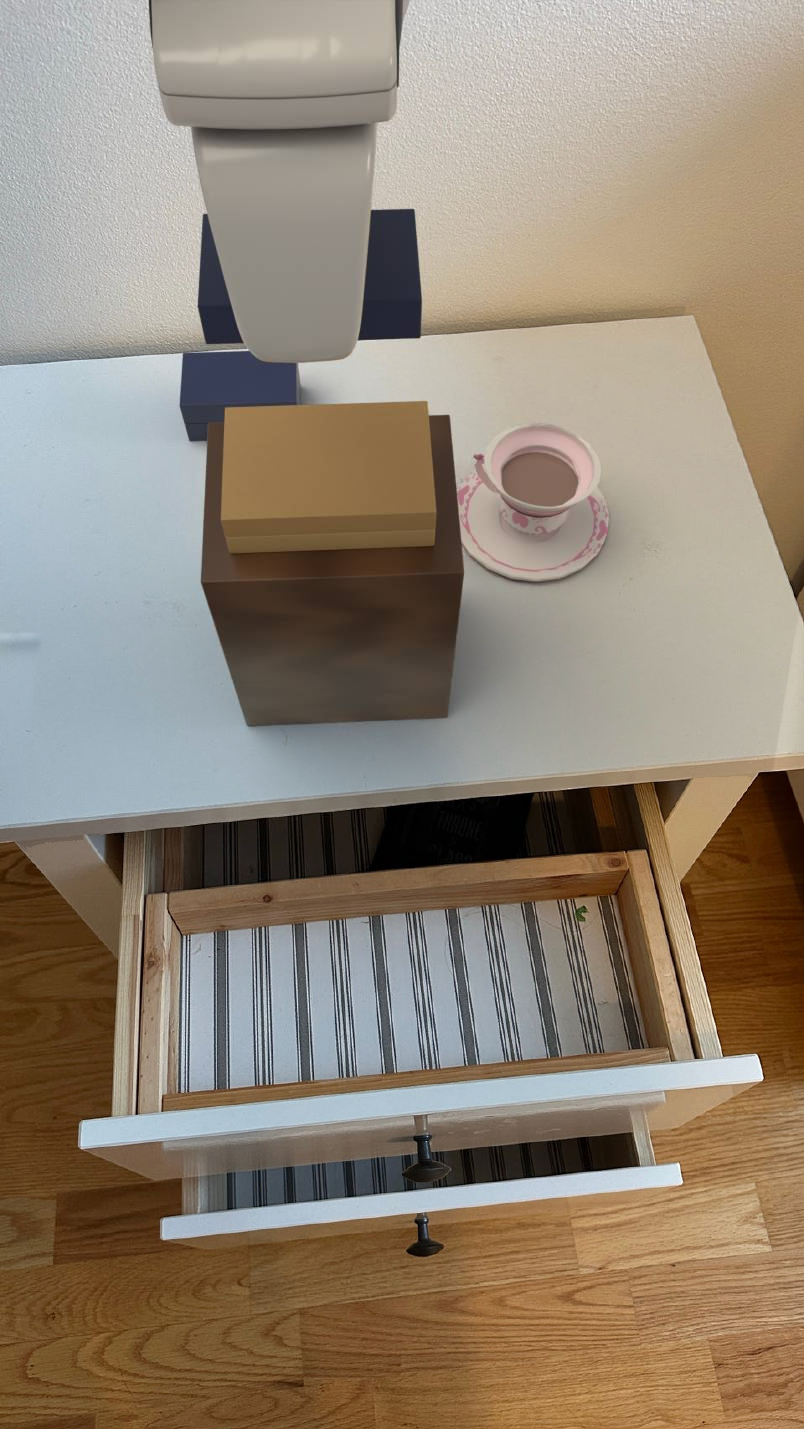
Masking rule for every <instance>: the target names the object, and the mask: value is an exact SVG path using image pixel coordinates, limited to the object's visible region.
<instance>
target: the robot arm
mask: <svg viewBox="0 0 804 1429" xmlns="http://www.w3.org/2000/svg"><path fill="white" fill-rule="evenodd" d="M410 1H411V0H148V17H149V33H150V40H151V47H152V56H153V64H154V71H155V76H156V77H155V78H156V82H157V85H158V86H157V88H158V92H159V97H160V101H161V105H162V109H163V112H164V115H165V117H166V120H167V121H168V122H169V123H170V124H171V125H173V126H177V127H186V128H187V127H189V128H190V131H191V139H192V147H193V151H194V158H195V164H196V169H197V174H198V180H199V184H200V185H199V186H200V188H201V193H202V197H203V203H204V206H205V211H206V214H207V215H208V219H209V223H210V227H211V230H212V234H213V238H214V242H215V246H216V249H217V253H218V257H219V261H220V264H221V268H222V272H223V276H224V280H225V283H226V287H227V290H228V294H229V298H230V301H231V305H232V308H233V312H234V316H235V319H236V323H237V326H238V329H239V332H240V335H241V337H242V340H243V342H244V343H243V344H244V346H245V347H246V349H247V351H250V352H251V353H252V354H253V355H254V356H255V357H256V358H257V359H259V360H261V361H265V362H278V363H298V364H307V363H319V362H320V363H323V362H334V361H335V362H336V361H342V360H345V359H347V358H348V357H350V356H351V355H352V353H353V352H354V350H355V348H356V346H357V343H358V341H359V340H358V336H359V331H360V326H361V319H362V310H363V299H364V288H365V277H366V266H367V254H368V242H369V230H370V218H371V210H372V205H373V204H372V203H373V191H374V177H375V167H376V166H375V165H376V152H377V137H378V123H385V122H386V123H387V122H389V121H391V120H393V119H394V117H395V115H396V112H397V106H398V104H397V101H398V100H397V99H398V98H397V97H398V93H397V92H398V88H400V49H401V48H400V47H401V40H402V34H403V33H402V31H403V23H404V20H405V18H406V13H407V11H408V8H409V5H410Z"/></svg>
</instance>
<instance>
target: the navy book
mask: <svg viewBox="0 0 804 1429" xmlns="http://www.w3.org/2000/svg"><path fill="white" fill-rule="evenodd" d="M416 220H417V219H416V210H415V209H414V208H392V209H391V208H390V209H389V208H388V209H387V208H385V209H371V218H370V230H369V242H368V254H367V266H366V277H365V288H364V299H363V310H362V319H361V326H360V331H359V336H358V340H357V341H375V340H377V341H378V340H379V341H381V340H382V341H383V340H410V339H411V340H412V339H413V340H414V339H421V337H422V315H423V314H422V313H423V296H422V283H421V282H422V281H421V272H420V257H419V244H418V233H417V222H416ZM200 237H201V238H200V241H201V242H200V254H199V274H198V289H197V290H198V291H197V292H198V293H197V311H198V315H199V319H200V320H199V321H200V325H201V330H202V333H203V338H204V342H205V344H206V345H232V344H233V345H237V344H238V345H239V344H244V342H243V340H242V337H241V335H240V332H239V329H238V326H237V323H236V319H235V316H234V312H233V308H232V305H231V301H230V298H229V294H228V290H227V287H226V283H225V280H224V276H223V272H222V268H221V264H220V261H219V257H218V253H217V249H216V246H215V242H214V238H213V234H212V230H211V227H210V223H209V219H208V215H207V213H203V214H202V223H201V236H200Z"/></svg>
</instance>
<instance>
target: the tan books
mask: <svg viewBox="0 0 804 1429" xmlns="http://www.w3.org/2000/svg"><path fill="white" fill-rule="evenodd" d="M429 415H430V414H429V402H428V400H416V401H415V400H411V401H409V400H408V401H384V402H383V401H382V402H351V403H350V402H349V403H323V404H301V405H288V406H257V407H227V408H225V420H224V447H223V474H222V502H221V522H222V526H223V530H224V534H225V537H226V541H227V545H228V549H229V552H230V553H231V554H232V553H259V552H286V551H313V550H339V549H366V548H393V547H420V546H434V542H435V527H436V500H435V488H434V476H433V463H432V451H431V438H430V426H429Z"/></svg>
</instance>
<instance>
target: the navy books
mask: <svg viewBox="0 0 804 1429" xmlns="http://www.w3.org/2000/svg"><path fill="white" fill-rule="evenodd" d="M299 368H300V367H299V363H278V362H265V361H261V360H259V359H257V358H256V357H255V356H254V355H253V354H252V353H251V352H250V351H249V350H233V351H232V350H231V351H230V350H229V351H228V350H227V351H203V352H201V351H198V352H183V353H182V360H181V374H180V390H179V409H180V412H181V416H182V420H183V423H184V427H185V431H186V434H187V438H188V441H189V442H197V441H198V442H199V441H203V442H204V441H207V433H208V423H216V422H224V420H225V408H227V407H257V406H288V405H302V396H301V395H302V390H301V389H302V385H301V377H300V369H299Z"/></svg>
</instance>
